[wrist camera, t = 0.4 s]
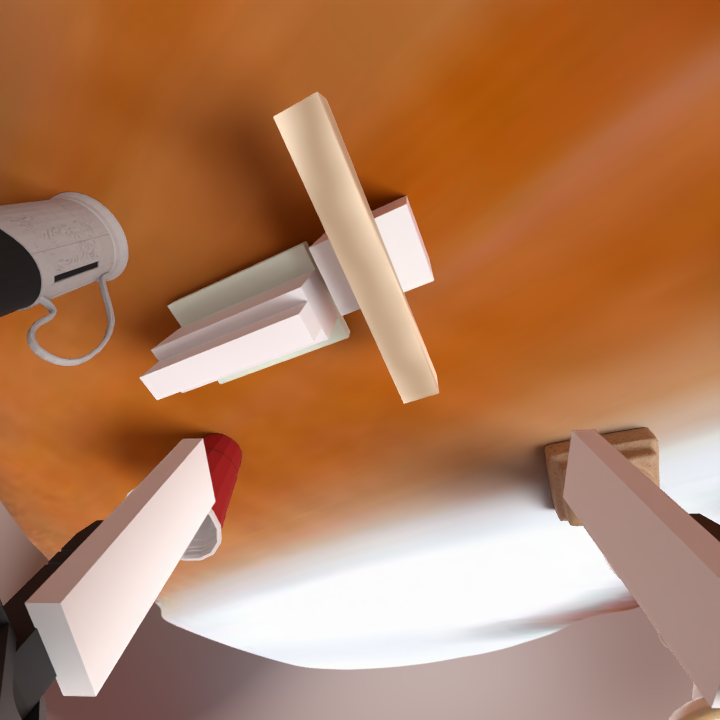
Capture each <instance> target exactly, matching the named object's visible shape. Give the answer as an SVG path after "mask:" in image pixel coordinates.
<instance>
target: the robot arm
mask: <svg viewBox="0 0 720 720" xmlns="http://www.w3.org/2000/svg"><path fill="white" fill-rule="evenodd" d="M563 498H564V499H565V501H566V502H567V504H568V505H569V507H570V508H571V509H572V511H573V512H574V514H575V515H576V516H577V518H578V519H579V521H580V522H581V524H582V525H583V526H584V528H585V529H586V531H587V532H588V533H589V535H590V536H591V538H592V539H593V541H594V542H595V543H596V545H597V546H598V548H599V549H600V550H601V552H602V553H603V555H604V556H605V558H606V559H607V560H608V562H609V563H610V565H611V566H612V568H613V569H614V570H615V572H616V573H617V575H618V576H619V577H620V579H621V580H622V582H623V583H624V585H625V586H626V587H627V589H628V590H629V592H630V593H631V594H632V596H633V597H634V599H635V600H636V602H637V603H638V604H639V606H640V607H641V609H642V610H643V611H644V613H645V614H646V616H647V617H648V619H649V620H650V621H651V623H652V624H653V626H654V627H655V628H656V630H657V631H658V633H659V634H660V636H661V637H662V638H663V640H664V641H665V643H666V644H667V646H668V647H669V648H670V650H671V651H672V653H673V654H674V655H675V657H676V658H677V660H678V661H679V663H680V664H681V665H682V667H683V668H684V670H685V671H686V672H687V674H688V675H689V677H690V678H691V679H692V681H693V682H694V684H695V685H696V687H697V688H698V690H699V691H700V692H701V694H702V695H703V697H704V698H705V699H706V701H707V702H708V704H709V705H710V707H711V708H720V525H719V524H717V523H715V522H714V521H712V520H710V519H708V518H706V517H705V516H703V515H701V514H688V513H687V512H686V511H685V510H683V509H682V508H681V507H680V506H679V505H678V504H677V503H676V502H675V501H673V500H672V499H671V498H670V497H669V496H668V495H667V494H666V493H665V492H663V491H662V490H661V489H660V488H659V487H658V486H657V485H656V484H655V483H653V482H652V481H651V480H650V479H649V478H648V477H647V476H646V475H644V474H643V473H642V472H641V471H640V470H639V469H638V468H637V467H636V466H634V465H633V464H632V463H631V462H630V461H629V460H628V459H627V458H626V457H624V456H623V455H622V454H621V453H620V452H619V451H618V450H617V449H616V448H614V447H613V446H612V445H611V444H610V443H609V442H608V441H607V440H606V439H604V438H603V437H602V436H601V435H600V434H599V433H598V432H597V431H596V430H572V433H571V441H570V448H569V456H568V463H567V471H566V478H565V486H564V493H563ZM214 503H215V497H214V492H213V487H212V481H211V476H210V471H209V466H208V461H207V456H206V451H205V446H204V441H203V438H198V439H182V440H181V441H180V442H179V443H178V444H177V445H176V446H175V447H174V448H173V449H172V451H171V452H170V453H169V454H168V455H167V456H166V457H165V458H164V459H163V460H162V461H161V462H160V463H159V464H158V465H157V466H156V467H155V468H154V469H153V470H152V471H151V472H150V473H149V474H148V475H147V476H146V478H145V479H144V480H143V481H142V482H141V483H140V484H139V485H138V486H137V487H136V488H135V489H134V490H133V491H132V492H131V493H130V494H129V495H128V496H127V497H126V498H125V499H124V500H123V501H122V502H121V503H120V505H119V506H118V507H117V508H116V509H115V510H114V511H113V512H112V513H111V514H110V515H109V516H108V517H107V518H106V519H105V520H97V521H95V522H94V523H92V524H91V525H89V526H88V527H86V528H85V529H83V530H82V531H80V532H78V533H77V534H76V535H75V536H74V537H73V538H72V539H71V540H70V541H69V542H68V543H67V544H66V545H65V546H64V547H63V548H62V550H61V552H58V553H57V554H56V555H55V556H54V557H53V558H52V559H51V560H50V561H49V563H48V565H45V566H44V567H43V568H41V569H40V571H38V572H37V573H36V574H35V575H34V577H33V578H32V579H30V580H29V581H28V582H27V583H26V585H24V586H23V587H22V588H21V589H20V590H19V591H18V592H17V593H16V594H15V595H14V596H13V597H12V598H11V599H10V600H9V601H8V602H7V603H6V604H5V605H4V606H3V605H2V602H1V600H0V720H46V703H45V700H44V697H43V694H44V693H45V691H46V690H47V689H48V687H49V686H50V685H51V683H52V682H53V680H54V679H55V678H56V679H57V682H58V684H59V686H60V689H61V691H62V694H63V696H96V695H97V694H98V692H99V690H100V689H101V687H102V686H103V684H104V682H105V681H106V679H107V677H108V676H109V674H110V672H111V671H112V669H113V668H114V666H115V664H116V663H117V661H118V659H119V658H120V656H121V654H122V653H123V651H124V650H125V648H126V646H127V645H128V643H129V642H130V640H131V638H132V637H133V635H134V633H135V632H136V630H137V628H138V627H139V625H140V623H141V622H142V620H143V619H144V617H145V615H146V614H147V612H148V610H149V609H150V607H151V606H152V604H153V602H154V601H155V599H156V598H157V596H158V594H159V593H160V591H161V589H162V588H163V586H164V584H165V583H166V581H167V580H168V578H169V576H170V575H171V573H172V571H173V570H174V568H175V567H176V565H177V563H178V562H179V560H180V558H181V557H182V555H183V553H184V552H185V550H186V549H187V547H188V545H189V544H190V542H191V540H192V539H193V537H194V536H195V534H196V532H197V531H198V529H199V527H200V526H201V524H202V522H203V521H204V519H205V518H206V516H207V514H208V513H209V511H210V509H211V508H212V506H213V505H214Z"/></svg>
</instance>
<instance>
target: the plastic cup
mask: <svg viewBox="0 0 720 720" xmlns="http://www.w3.org/2000/svg"><path fill="white" fill-rule="evenodd" d="M203 441H204V446H205V451H206V456H207V461H208V466H209V471H210V476H211V481H212V487H213V492H214V497H215V503H214V505H213V506H212V508H211V509H210V511H209V513H208V514H207V516H206V518H205V519H204V521H203V522H202V524H201V526H200V527H199V529H198V531H197V532H196V534H195V536H194V537H193V539H192V540H191V542H190V544H189V545H188V547H187V549H186V550H185V552H184V553H183V555H182V557H181V558H180V560H184V561H191V560H202V559H204V558H207V557H209V556H211V555H213V554H214V553H215V551H216V550H217V548H218V547H219V545H220V543H221V530H222V527H223V522H224V520H225V517H226V511H227V508H228V505H229V502H230V499H231V495H232V492H233V489H234V486H235V483H236V480H237V474H238V470H239V467H240V464H241V458H242V454H241V449H240V448H239V446H238V444H237V443H236V442H235V441H234V440H232V439H231V438H229V437H227V436H225V435H221V434H210V435H207V436H205V437H204V438H203ZM132 491H133V490H132ZM132 491H130V492H129V493H128V494H127V496H128V495H129V494H130V493H131V492H132Z"/></svg>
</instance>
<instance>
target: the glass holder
mask: <svg viewBox="0 0 720 720" xmlns="http://www.w3.org/2000/svg"><path fill="white" fill-rule="evenodd" d="M128 255H129V252H128V244H127V239H126V236H125V234H124V231H123V229H122V227H121V226H120V224H119V222H118V221H117V219H116V218H115V217H114V215H113V214H112V213H111V212H110V211H109V210H108V209H107V208H106V207H105V206H103V205H102V204H101V203H100V202H98V201H97V200H95V199H93V198H91V197H89V196H87V195H85V194H81V193H77V192H64V193H60V194H58V195H55V196H54V197H52V198H51V199H50V200H42V201H34V202H26V203H18V204H9V205H1V206H0V317H2V316H4V315H7V314H9V313H12V312H14V311H20V310H25V309H28V308H31V307H33V306H36V305H38V304H42V305H43V306H44V307H45V308H47V309H48V311H49V312H50V314H48V315H46V316H44V317H42V318H40V319H39V320H37V321H36V322H34V324H33V325H32V326H31V328H30V329H29V330H28V334H27V341H28V344H29V347H30V348H31V349H32V351H33V352H34V353H35V354H36V355H38V356H39V357H41V358H42V359H44V360H46V361H48V362H51V363H53V364H57V365H62V366H73V365H78V364H81V363H83V362H85V361H87V360H89V359H91V358H92V357H93V356H95V355H96V354H97V353H99V352H100V351H101V350H102V348H103V347H104V346H105V345H106V343H107V342H108V341H109V339H110V337H111V334H112V332H113V328H114V324H115V318H114V312H113V308H112V303H111V299H110V296H109V293H108V289H107V285H106V282H107V281H110V280H113V279H115V278H117V277H118V276H119V275H120V274H121V273H122V272H123V271H124V269H125V267H126V265H127V262H128ZM93 282H99V285H100V290H101V294H102V298H103V301H104V304H105V308H106V313H107V321H108V325H107V330H106V333H105V336H104V338H103V340H102V342H101V343H100V344H99V346H98V347H97V348H95V349H94V350H93V351H91V352H90V353H89V354H87V355H85V356H83V357H80V358H76V359H66V358H61V357H57V356H55V355H53V354H51V353H49V352H47V351H46V350H44V349H43V348H42V347H41V346H40V345H39V344H38V343H37V340H36V337H35V334H36V330H37V329H38V328H39V327H40V326H42V325H43V324H45V323H47V322H49V321H50V320H52V319H53V318H54V316H55V315H56V313H57V308H56V307H55V305H54V304H53V303H52V302H51V301H50V300H51V299H53V298H56V297H58V296H61V295H63V294H66V293H68V292H71V291H73V290H76V289H78V288H81V287H83V286H86V285H88V284H91V283H93Z"/></svg>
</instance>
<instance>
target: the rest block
mask: <svg viewBox="0 0 720 720" xmlns="http://www.w3.org/2000/svg"><path fill="white" fill-rule="evenodd" d="M371 212H372V214H373V217H374V219H375V222H376V224H377V227H378V229H379V232H380V234H381V237H382V239H383V242H384V244H385V247H386V249H387V252H388V254H389V257H390V259H391V262H392V264H393V267H394V269H395V272H396V274H397V277H398V279H399V282H400V284H401V287H402V289H403V292H406V291H408V290H411V289H414V288H416V287H419V286H421V285H424V284H427V283H429V282H432V281H434V278H433V274H432V269H431V265H430V260H429V257H428V254H427V252H426V249H425V246H424V243H423V240H422V238H421V235H420V232H419V229H418V226H417V224H416V221H415V218H414V215H413V212H412V210H411V207H410V204H409V201H408V198H407V195H406V196H404V197H402V198H400V199H397V200H395V201H393V202H391V203H389V204H386V205H384V206H382V207H380V208H378V209H375V210H373V211H371ZM309 250H310V252H311V254H312V256H313V258H314V261H315V263H316V265H317V267H318V269H319V271H320V273H321V275H322V277H323V279H324V281H325V283H326V285H327V287H328V289H329V292H330V294H331V296H332V298H333V300H334V302H335V304H336V306H337V308H338V310H339V312H340V314H341V316H343V315H346V314H348V313H351V312H354V311H356V310H359V309H361V308H360V306H359V304H358V302H357V300H356V297H355V295H354V293H353V291H352V289H351V286H350V284H349V282H348V280H347V278H346V275H345V273H344V271H343V269H342V267H341V264H340V262H339V260H338V258H337V256H336V254H335V251H334V249H333V247H332V245H331V243H330V240H329V238H328V236H327V234H326V232H325V233H324V234H323V235H322V236H321V237H320V238H319V239H318V240H317V241H316V242H315V243H313V244H312V245H311V246H310V247H309Z"/></svg>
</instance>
